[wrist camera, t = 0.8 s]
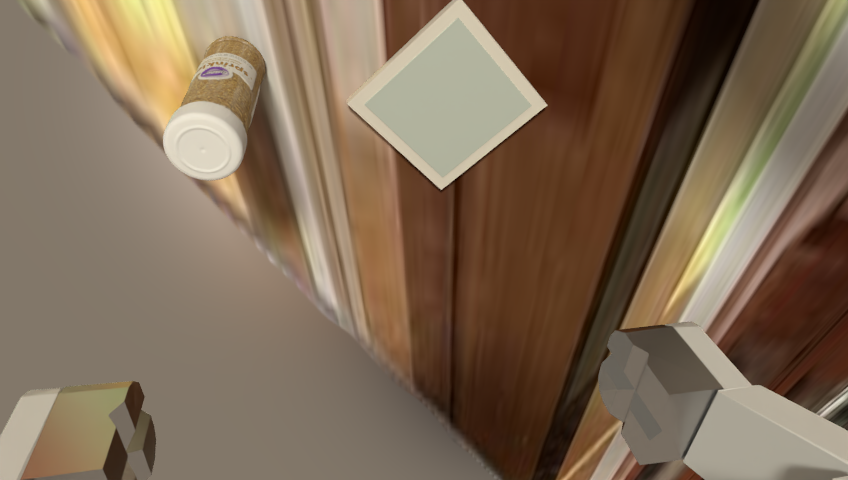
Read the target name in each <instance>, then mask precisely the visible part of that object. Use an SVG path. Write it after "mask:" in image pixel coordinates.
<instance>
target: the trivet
mask: <svg viewBox="0 0 848 480" xmlns="http://www.w3.org/2000/svg"><path fill="white" fill-rule="evenodd" d="M347 104H348V105H349V106H350V107H351V108H352V109H353V110H354V111H355V112H356V113H357V114H359V115H360V116H361V117H362V118H363V119H364V120H365V121H366V122H367V123H368V124H370V125H371V126H372V127H373V128H374V129H375V130H376V131H377V132H378V133H379V134H380V135H382V136H383V137H384V138H385V139H386V140H387V141H388V142H389V143H390V144H391V145H392V146H394V147H395V148H396V149H397V150H398V151H399V152H400V153H401V154H402V155H403V156H405V157H406V158H407V159H408V160H409V161H410V162H411V163H412V164H413V165H414V166H415V167H417V168H418V169H419V170H420V171H421V172H422V173H423V174H424V175H425V176H426V177H428V178H429V179H430V180H431V181H432V182H433V183H434V184H435V185H436V186H437V187H438V188H440V189H441V190H442V189H443V188H444V187H446V186H447V185H448V184H449V183H451V182H452V181H453V180H454V179H456V178H457V177H458V176H459V175H461V174H462V173H463V172H464V171H466V170H467V169H468V168H469V167H471V166H472V165H473V164H475V163H476V162H477V161H478V160H480V159H481V158H482V157H483V156H485V155H486V154H487V153H488V152H490V151H491V150H492V149H493V148H495V147H496V146H497V145H498V144H500V143H501V142H502V141H503V140H505V139H506V138H507V137H508V136H510V135H511V134H512V133H513V132H515V131H516V130H517V129H518V128H520V127H521V126H522V125H523V124H525V123H526V122H527V121H528V120H530V119H531V118H532V117H533V116H535V115H536V114H537V113H538V112H540V111H541V110H542V109H543V108H545V107H546V106H547V104H546V103H545V101H544V100H543V99H542V97H541V96H540V95H539V94H538V92H537V91H536V90H535V89H534V88H533V86H532V85H531V84H530V83H529V81H528V80H527V79H526V78H525V76H524V75H523V74H522V73H521V71H520V70H519V69H518V68H517V67H516V65H515V64H514V63H513V62H512V60H511V59H510V58H509V57H508V55H507V54H506V53H505V52H504V50H503V49H502V48H501V47H500V46H499V44H498V43H497V42H496V41H495V39H494V38H493V37H492V36H491V34H490V33H489V32H488V31H487V29H486V28H485V27H484V26H483V25H482V23H481V22H480V21H479V20H478V18H477V17H476V16H475V15H474V13H473V12H472V11H471V10H470V8H469V7H468V6H467V5H466V4H465V2H464V1H463V0H452V1H451V2H450V3H449V4H448V5H447V6H446V7H445V8H443V9H442V10H441V11H440V12H439V13H438V14H437V15H436V16H435V17H434V18H433V19H432V20H431V21H430V22H429V23H428V24H427V25H425V26H424V27H423V28H422V29H421V30H420V31H419V32H418V33H417V34H416V35H415V36H414V37H413V38H412V39H411V40H410V41H409V42H407V43H406V44H405V45H404V46H403V47H402V48H401V49H400V50H399V51H398V52H397V53H396V54H395V55H394V56H393V57H392V58H391V59H389V60H388V61H387V62H386V63H385V64H384V65H383V66H382V67H381V68H380V69H379V70H378V71H377V72H376V73H375V74H374V75H373V76H371V77H370V78H369V79H368V80H367V81H366V82H365V83H364V84H363V85H362V86H361V87H360V88H359V89H358V90H357V91H356V92H354V93H353V94H352V95H351V96H350V97H349V98H348V99H347Z"/></svg>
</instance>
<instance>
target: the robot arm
mask: <svg viewBox="0 0 848 480" xmlns="http://www.w3.org/2000/svg"><path fill="white" fill-rule="evenodd" d="M607 347H608V348H609V350H610V351H611V353H612V354H611V355H610V356H609V357H608V358H607V359H606V360H605V361H604V362H603V363H602V364H601V368H600V372H599V376H598V379H599V391H600V394H601V397H602V400H603V402H604V404H605V406H606V408H607V410H608V411H609V413H610V414H611V415H613V416H614V417H616V418H617V419H619V420H620V421H622V422H623V426H622V432H621V434H622V436H623V437H624V439H625V441H626V443H627V444H628V446H629V448H630V449H631V451H632V453H633V455H634V456H635V458H636V460H637V461H638V463H639V465H643V464H651V463H659V462H667V461H675V460H683V459H684V461H683V462H684V463H685V464H686V465H687V466H689V467H690V468H691V469H692V470H694V471H695V472H696V473H697V474H699V475H700V476H701V477H702V478H704V479H705V480H848V431H847V430H845V429H843V428H841V427H839V426H838V425H836V424H834V423H832V422H830V421H828V420H826V419H824V418H822V417H820V416H818V415H816V414H815V413H813V412H811V411H809V410H807V409H805V408H803V407H801V406H799V405H797V404H795V403H793V402H792V401H790V400H788V399H786V398H784V397H782V396H780V395H778V394H776V393H774V392H772V391H770V390H769V389H767V388H765V387H763V386H761V385H754V386H752V385H751V384H750V383H749V382H748V381H747V379H746V378H745V377H744V376H743V375H742V374H741V373H740V372H739V370H738V369H737V368H736V367H735V366H734V365H733V364H732V362H731V361H730V360H729V359H728V358H727V357H726V356H725V355H724V353H723V352H722V351H721V350H720V349H719V348H718V347H717V346H716V344H715V343H714V342H713V341H712V340H711V339H710V338H709V337H708V335H707V334H706V333H705V332H704V331H703V330H702V329H701V328H700V326H698V325H697V324H695V323H693V322H683V323H674V324H666V325H656V326H648V327H639V328H630V329H622V330H616V331H615V332H614V333H613V334H612V335H611V336H610V339H609V342H608V345H607ZM143 401H144V394H143V392H142V389H141V387H140V384H139V382H135V381H130V382H117V383H106V384H93V385H81V386H69V387H65V388H52V389H41V390H40V389H39V390H29V391H28V392H27V393H26V394H24V395H23V396H22V397H21V398H20V399H19V401H18V403H17V405H16V407H15V409H14V411H13V413H12V415H11V417H10V418H9V421H8V422H7V424H6V426H5V428H4V430H3V432H2V434H1V436H0V480H147V479H148V478H149V477H150V476H151V474H152V469H153V465H154V460H155V445H156V437H155V430H154V424H153V421H152V418H151V415H149V414H147V413H146V412H144V411H142V410H141V408H142V404H143Z"/></svg>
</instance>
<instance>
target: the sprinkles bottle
mask: <svg viewBox="0 0 848 480" xmlns="http://www.w3.org/2000/svg"><path fill="white" fill-rule="evenodd" d="M264 74H265V63H264V59H263V57H262V55H261V54H260V52H259V51H258V50H257V49H256V48H255V47H254V46H253V45H252V44H251V43H249V42H248V41H246V40H244V39H239V38H238V37H232V36H229V37H227V36H225V37H223V38H219V39H217V40H216V41H214V42H213V43H212V44H211V45H210V46H209V47H208V48H207V50H206V53H205V56H204V60H203V61H202V63H201V64H200V66H199V68H198V70H197V72H196V74H195V75H194V77H193V79H192V81H191V83H190V86H189V89H188V91H187V93H186V95H185V97H184V100H183V102H182V104H181V106H180V108H179V109H177V110H176V111H175V112H174V114H173V115H172V117H171V119H170V121H169V123H168V125H167V127H166V129H165V132H164V135H163V145H164V150H165V153H166V155H167V157H168V158H169V160H170V161H171V163H172V164H173V165H174V166H175V167H176V168H177V169H179V170H180V171H181V172H183V173H185V174H186V175H188V176H191V177H193V178H196V179H200V180H218V179H222V178H225V177H227V176H229V175H231V174H232V173H234V172H235V171H236V170H237V169H238V167H239V166H240V164H241V162H242V160H243V157H244V154H245V150H246V146H247V132H248V129H249V127H250V125H251V122H252V119H253V115H254V111H255V108H256V104H257V100H258V96H259V92H260V84H261V82H262V80H263V77H264Z"/></svg>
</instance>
